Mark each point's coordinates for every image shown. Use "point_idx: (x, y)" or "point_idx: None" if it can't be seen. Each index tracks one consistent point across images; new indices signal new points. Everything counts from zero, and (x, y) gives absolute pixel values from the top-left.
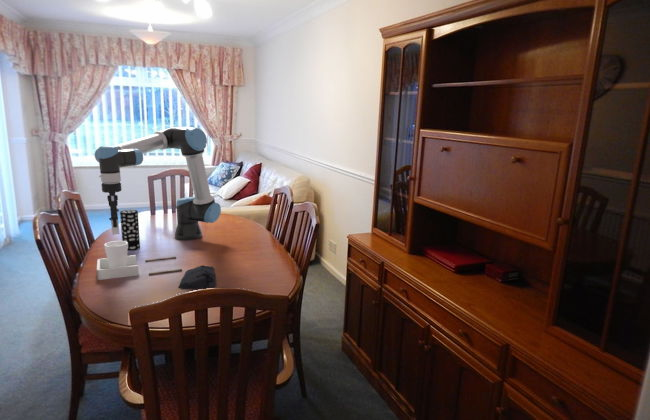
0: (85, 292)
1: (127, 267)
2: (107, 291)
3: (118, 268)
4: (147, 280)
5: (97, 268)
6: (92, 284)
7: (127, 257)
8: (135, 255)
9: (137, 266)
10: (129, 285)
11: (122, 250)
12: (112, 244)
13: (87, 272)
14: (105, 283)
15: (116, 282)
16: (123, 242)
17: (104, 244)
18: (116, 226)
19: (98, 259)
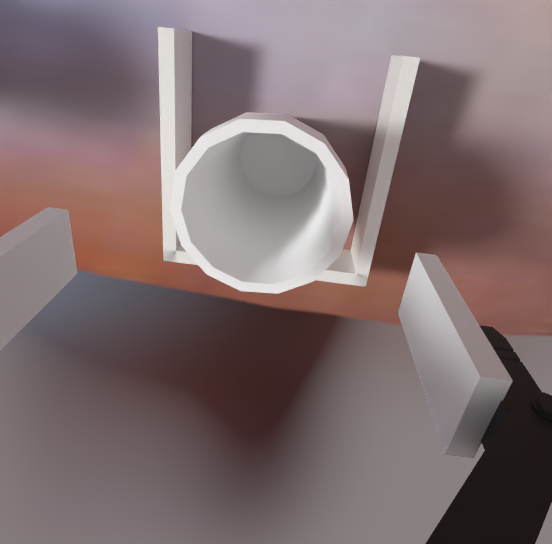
0: (484, 317)
1: (402, 130)
2: (542, 243)
3: (390, 182)
4: (538, 21)
5: (335, 280)
6: (402, 285)
7: (176, 93)
8: (172, 33)
9: (417, 62)
10: (541, 138)
11: (345, 169)
12: (195, 223)
13: (223, 285)
14: (426, 237)
15: (447, 191)
16: (210, 146)
17: (245, 289)
18: (497, 340)
19: (175, 257)
